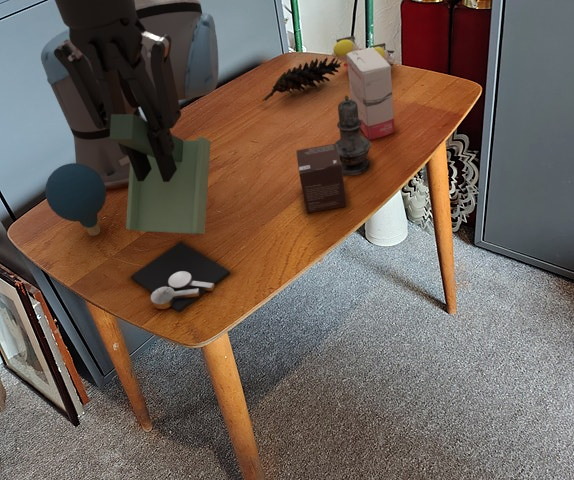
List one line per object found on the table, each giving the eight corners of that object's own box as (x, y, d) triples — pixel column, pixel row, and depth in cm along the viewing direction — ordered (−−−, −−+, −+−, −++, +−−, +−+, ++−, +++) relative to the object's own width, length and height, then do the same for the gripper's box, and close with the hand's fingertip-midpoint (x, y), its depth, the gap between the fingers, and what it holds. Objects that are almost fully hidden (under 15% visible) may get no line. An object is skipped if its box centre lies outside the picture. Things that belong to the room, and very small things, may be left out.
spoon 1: (165, 291, 83) (163, 285, 82) (176, 275, 85) (174, 269, 84) (208, 297, 81) (206, 291, 80) (218, 280, 83) (216, 275, 82)
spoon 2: (152, 288, 82) (154, 293, 83) (148, 305, 80) (151, 310, 81) (199, 282, 82) (201, 287, 82) (197, 299, 80) (199, 304, 80)
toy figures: (401, 54, 119) (386, 34, 111) (394, 76, 119) (379, 58, 112) (345, 50, 125) (327, 31, 117) (339, 71, 125) (321, 54, 118)
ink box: (395, 133, 103) (393, 65, 95) (367, 141, 103) (362, 73, 95) (377, 110, 109) (373, 44, 101) (351, 117, 109) (344, 52, 101)
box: (342, 184, 95) (337, 142, 90) (347, 207, 91) (342, 164, 86) (302, 190, 96) (295, 149, 91) (305, 214, 91) (298, 172, 86)
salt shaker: (370, 176, 96) (364, 104, 87) (332, 176, 97) (323, 106, 89) (373, 154, 100) (369, 84, 91) (337, 155, 101) (329, 86, 93)
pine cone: (337, 73, 122) (335, 46, 118) (347, 83, 118) (345, 56, 115) (253, 98, 120) (247, 72, 116) (260, 109, 116) (254, 82, 112)
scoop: (136, 231, 83) (76, 220, 71) (141, 141, 83) (83, 114, 71) (204, 234, 80) (155, 223, 68) (210, 141, 80) (162, 113, 68)
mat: (131, 278, 87) (130, 276, 86) (181, 243, 91) (180, 241, 90) (179, 312, 80) (178, 310, 80) (230, 273, 84) (229, 270, 84)
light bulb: (130, 217, 98) (103, 151, 89) (109, 252, 92) (78, 185, 84) (83, 217, 100) (52, 152, 92) (59, 251, 94) (24, 186, 86)
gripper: (173, -44, 62) (226, 159, 78) (38, -31, 66) (114, 157, 83) (142, -15, 57) (205, 195, 73) (-1, -4, 61) (88, 191, 78)
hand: (157, 174), depth 78 cm, fingers closed on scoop, 3 cm apart
